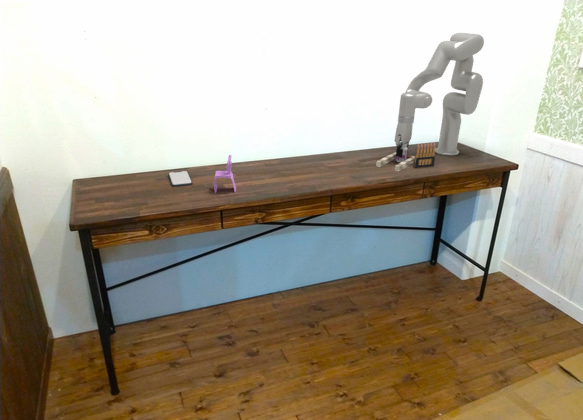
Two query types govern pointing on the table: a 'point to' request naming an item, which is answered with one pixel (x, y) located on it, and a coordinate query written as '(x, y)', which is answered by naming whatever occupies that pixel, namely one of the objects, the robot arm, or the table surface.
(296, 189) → the table surface
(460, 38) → the robot arm
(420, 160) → the ammunition clip
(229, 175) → the toy chair
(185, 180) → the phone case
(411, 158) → the guide channel
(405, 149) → the pill bottle
